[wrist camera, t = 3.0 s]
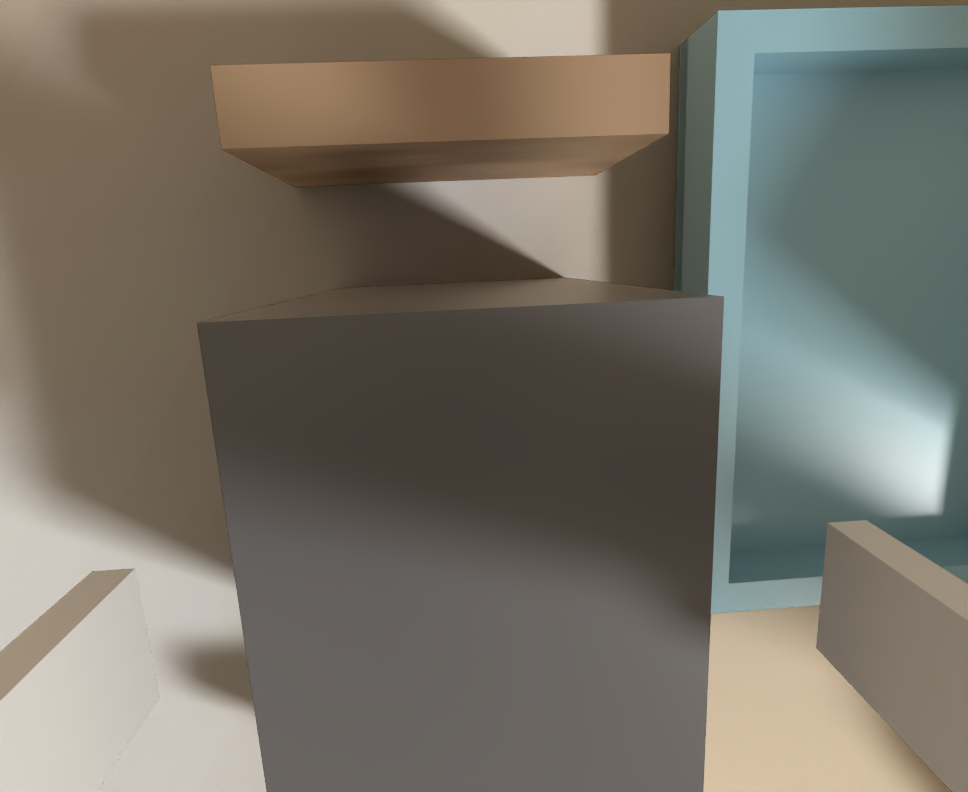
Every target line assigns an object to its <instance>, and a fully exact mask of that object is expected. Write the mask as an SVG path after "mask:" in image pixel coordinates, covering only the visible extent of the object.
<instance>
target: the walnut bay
mask: <svg viewBox="0 0 968 792" xmlns="http://www.w3.org/2000/svg"><path fill="white" fill-rule="evenodd" d="M670 56H671V53H659V54H621V55H584V56H546V57H509V58H472V59H434V60H397V61H359V62H322V63H284V64H247V65H210V68H211V75H212V83H213V90H214V98H215V106H216V113H217V121H218V128H219V136H220V144H221V149H222V150H224V151H226V152H228V153H230V154H232V155H234V156H236V157H238V158H240V159H242V160H244V161H246V162H248V163H249V164H251V165H253V166H255V167H257V168H259V169H261V170H263V171H265V172H267V173H269V174H271V175H273V176H275V177H277V178H279V179H280V180H282V181H284V182H286V183H288V184H290V185H292V186H294V187H300V186H326V185H352V184H378V183H405V182H431V181H457V180H483V179H510V178H536V177H562V176H589V175H597V174H599V173H601V172H603V171H604V170H606V169H608V168H610V167H611V166H613V165H615V164H616V163H618V162H620V161H622V160H623V159H625V158H627V157H629V156H630V155H632V154H634V153H636V152H637V151H639V150H641V149H643V148H644V147H646V146H648V145H650V144H651V143H653V142H655V141H657V140H658V139H660V138H662V137H664V136H665V135H667V134H669V103H670Z"/></svg>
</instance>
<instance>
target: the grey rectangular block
mask: <svg viewBox="0 0 968 792" xmlns="http://www.w3.org/2000/svg"><path fill="white" fill-rule="evenodd" d="M723 313H724V296H717V295H708V294H700V293H691V292H683V291H674V290H666V289H657V288H649V287H640V286H632V285H623V284H615V283H606V282H598V281H589V280H581V279H572V278H546V279H525V280H504V281H483V282H462V283H441V284H420V285H399V286H378V287H357V288H338V289H334V290H330V291H326V292H322V293H318V294H314V295H309V296H305V297H301V298H297V299H293V300H289V301H285V302H281V303H276V304H272V305H268V306H264V307H260V308H256V309H252V310H248V311H243V312H239V313H235V314H231V315H227V316H223V317H219V318H215V319H210V320H206V321H202V322H198V323H197V327H198V333H199V340H200V347H201V353H202V360H203V367H204V374H205V380H206V387H207V394H208V400H209V407H210V414H211V421H212V427H213V434H214V441H215V447H216V454H217V461H218V468H219V474H220V481H221V488H222V494H223V501H224V508H225V515H226V521H227V528H228V535H229V541H230V548H231V555H232V562H233V568H234V575H235V582H236V589H237V595H238V602H239V609H240V615H241V622H242V629H243V636H244V642H245V649H246V656H247V662H248V669H249V676H250V683H251V689H252V696H253V703H254V709H255V716H256V723H257V730H258V736H259V743H260V750H261V756H262V763H263V770H264V777H265V783H266V790H267V792H703V784H704V761H705V737H706V713H707V690H708V666H709V643H710V619H711V596H712V572H713V549H714V525H715V502H716V478H717V455H718V431H719V407H720V384H721V360H722V337H723Z"/></svg>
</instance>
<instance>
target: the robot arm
mask: <svg viewBox="0 0 968 792" xmlns="http://www.w3.org/2000/svg"><path fill="white" fill-rule="evenodd" d="M816 648H817V649H818V650H819V651H820V652H821V653H822V654H823V655H824V656H825V658H826V659H827V660H828V661H829V662H830V663H831V664H832V665H833V666H834V667H835V668H836V669H837V670H838V671H839V672H840V673H841V675H842V676H843V677H844V678H845V679H846V680H847V681H848V682H849V683H850V684H851V685H852V686H853V687H854V688H855V689H856V690H857V692H858V693H859V694H860V695H861V696H862V697H863V698H864V699H865V700H866V701H867V702H868V703H869V704H870V705H871V706H872V707H873V709H874V710H875V711H876V712H877V713H878V714H879V715H880V716H881V717H882V718H883V719H884V720H885V721H886V722H887V723H888V724H889V726H890V727H891V728H892V729H893V730H894V731H895V732H896V733H897V734H898V735H899V736H900V737H901V738H902V739H903V740H904V741H905V743H906V744H907V745H908V746H909V747H910V748H911V749H912V750H913V751H914V752H915V753H916V754H917V755H918V756H919V757H920V759H921V760H922V761H923V762H924V763H925V764H926V765H927V766H928V767H929V768H930V769H931V770H932V771H933V772H934V773H935V774H936V776H937V777H938V778H939V779H940V780H941V781H942V782H943V783H944V784H945V785H946V786H947V787H948V788H949V789H950V790H951V791H952V792H968V584H967V583H965V582H964V581H962V580H961V579H959V578H957V577H956V576H954V575H953V574H951V573H949V572H948V571H946V570H945V569H943V568H941V567H940V566H938V565H937V564H935V563H933V562H932V561H930V560H929V559H927V558H926V557H924V556H922V555H921V554H919V553H918V552H916V551H914V550H913V549H911V548H910V547H908V546H906V545H905V544H903V543H902V542H900V541H898V540H897V539H895V538H894V537H892V536H891V535H889V534H887V533H886V532H884V531H883V530H881V529H879V528H878V527H876V526H875V525H873V524H871V523H870V522H868V521H867V520H860V521H845V522H830V523H828V525H827V536H826V547H825V558H824V569H823V580H822V591H821V601H820V612H819V623H818V634H817V645H816ZM159 698H160V696H159V691H158V686H157V680H156V675H155V670H154V665H153V660H152V654H151V649H150V644H149V639H148V634H147V628H146V623H145V618H144V613H143V608H142V603H141V597H140V592H139V587H138V582H137V577H136V571H135V569H121V570H106V571H92V572H91V573H90V574H89V575H88V576H86V577H85V578H84V579H83V580H82V581H81V582H80V583H78V584H77V585H76V586H75V587H74V588H73V589H72V590H70V591H69V592H68V593H67V594H66V595H65V596H64V597H62V598H61V599H60V600H59V601H58V602H57V603H56V604H54V605H53V606H52V607H51V608H50V609H49V610H48V611H46V612H45V613H44V614H43V615H42V616H41V617H40V618H38V619H37V620H36V621H35V622H34V623H33V624H32V625H30V626H29V627H28V628H27V629H26V630H25V631H23V632H22V633H21V634H20V635H19V636H18V637H17V638H15V639H14V640H13V641H12V642H11V643H10V644H9V645H7V646H6V647H5V648H4V649H3V650H2V651H1V652H0V792H97V791H98V790H99V788H100V787H101V785H102V784H103V782H104V781H105V779H106V778H107V776H108V775H109V773H110V772H111V770H112V769H113V767H114V766H115V764H116V763H117V761H118V760H119V758H120V757H121V755H122V754H123V752H124V750H125V749H126V747H127V746H128V744H129V743H130V741H131V740H132V738H133V737H134V735H135V734H136V732H137V731H138V729H139V728H140V726H141V725H142V723H143V722H144V720H145V719H146V717H147V716H148V714H149V713H150V711H151V710H152V708H153V707H154V705H155V704H156V702H157V701H158V699H159Z"/></svg>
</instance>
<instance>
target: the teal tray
mask: <svg viewBox="0 0 968 792" xmlns="http://www.w3.org/2000/svg"><path fill="white" fill-rule="evenodd" d="M674 291H683V292H691V293H700V294H708V295H717V296H724V313H723V337H722V360H721V384H720V407H719V431H718V455H717V478H716V502H715V525H714V549H713V572H712V596H711V614H715V613H727V612H739V611H752V610H764V609H777V608H789V607H802V606H814V605H820V601H821V591H822V580H823V569H824V558H825V547H826V536H827V525H828V523H830V522H845V521H860V520H867V521H868V522H870V523H871V524H873V525H875V526H876V527H878V528H879V529H881V530H883V531H884V532H886V533H887V534H889V535H891V536H892V537H894V538H895V539H897V540H898V541H900V542H902V543H903V544H905V545H906V546H908V547H910V548H911V549H913V550H914V551H916V552H918V553H919V554H921V555H922V556H924V557H926V558H927V559H929V560H930V561H932V562H933V563H935V564H937V565H938V566H940V567H941V568H943V569H945V570H946V571H948V572H949V573H951V574H953V575H954V576H956V577H957V578H959V579H961V580H962V581H964V582H965V583H967V584H968V5H942V6H898V7H854V8H810V9H766V10H722V11H717V12H716V13H715V14H714V15H713V16H712V17H711V18H710V19H708V20H707V21H706V22H705V23H704V24H703V25H702V26H701V27H700V28H699V29H698V30H696V31H695V32H694V33H693V34H692V35H691V36H690V37H689V38H688V39H687V40H686V41H684V42H683V43H682V44H681V45H680V64H679V105H678V146H677V187H676V228H675V269H674Z"/></svg>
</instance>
